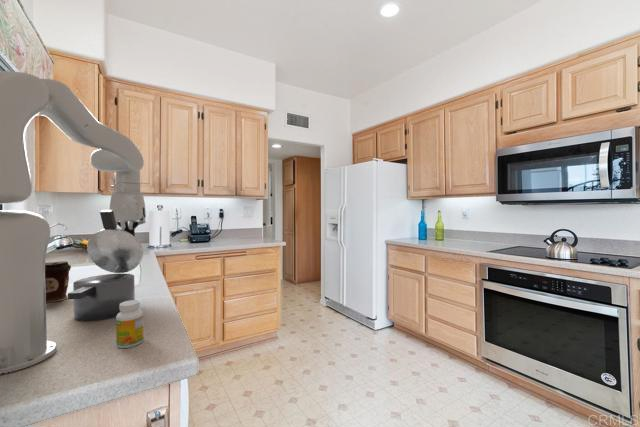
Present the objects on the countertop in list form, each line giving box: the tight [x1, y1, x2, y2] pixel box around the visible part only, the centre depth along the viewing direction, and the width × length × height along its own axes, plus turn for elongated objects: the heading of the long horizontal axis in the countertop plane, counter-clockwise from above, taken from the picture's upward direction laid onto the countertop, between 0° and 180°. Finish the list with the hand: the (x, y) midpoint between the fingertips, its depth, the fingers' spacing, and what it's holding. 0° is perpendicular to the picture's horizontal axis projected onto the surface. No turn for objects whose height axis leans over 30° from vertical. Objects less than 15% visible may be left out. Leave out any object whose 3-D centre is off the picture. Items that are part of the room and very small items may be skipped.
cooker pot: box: [67, 273, 136, 322], centre depth 87 cm, size 23×15×10 cm, turn 7°
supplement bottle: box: [115, 299, 144, 349], centre depth 69 cm, size 5×5×10 cm
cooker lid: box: [86, 209, 144, 274], centre depth 95 cm, size 22×16×3 cm
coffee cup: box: [45, 260, 72, 303], centre depth 100 cm, size 9×8×13 cm
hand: (129, 240), depth 103 cm, fingers closed
